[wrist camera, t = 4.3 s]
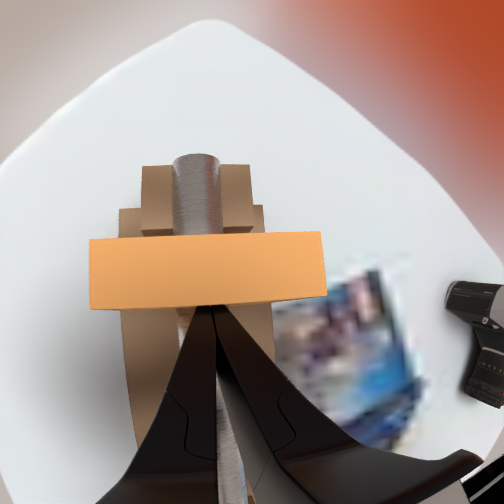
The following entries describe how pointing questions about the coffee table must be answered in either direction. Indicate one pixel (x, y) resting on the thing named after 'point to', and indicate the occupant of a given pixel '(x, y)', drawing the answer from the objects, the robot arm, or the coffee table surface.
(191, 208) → the pipe
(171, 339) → the stand
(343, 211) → the coffee table surface
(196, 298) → the collar
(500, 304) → the camera
